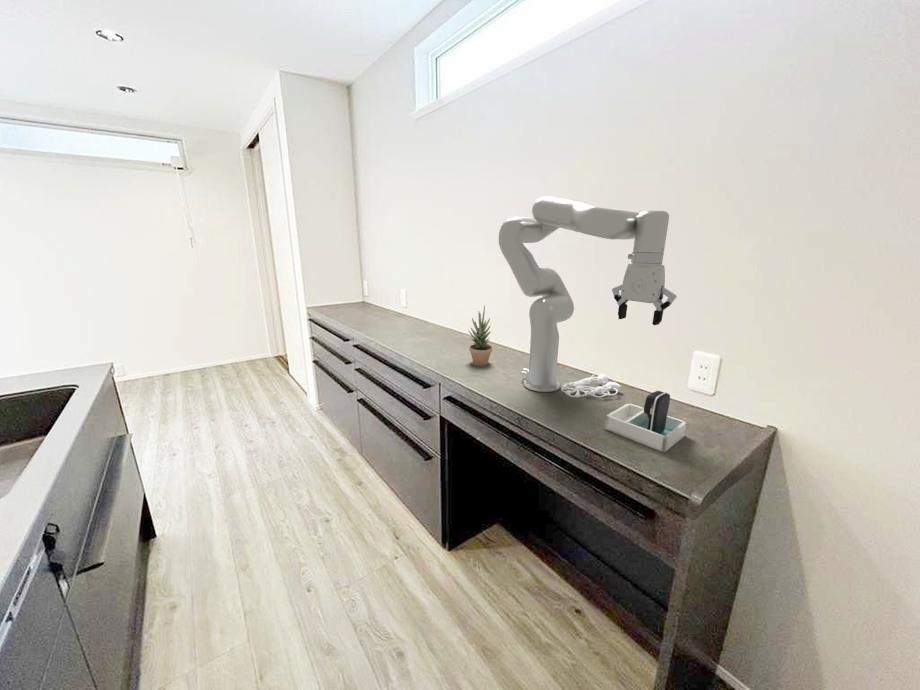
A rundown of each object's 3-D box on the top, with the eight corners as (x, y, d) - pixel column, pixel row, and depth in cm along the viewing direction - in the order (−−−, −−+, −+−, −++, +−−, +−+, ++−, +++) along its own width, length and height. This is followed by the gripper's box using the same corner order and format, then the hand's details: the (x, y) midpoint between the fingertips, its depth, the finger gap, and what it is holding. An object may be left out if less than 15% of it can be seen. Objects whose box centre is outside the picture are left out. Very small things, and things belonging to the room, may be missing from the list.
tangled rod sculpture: (574, 406, 123) (576, 395, 122) (553, 386, 136) (554, 376, 135) (627, 399, 128) (629, 388, 127) (601, 380, 141) (603, 370, 140)
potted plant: (480, 368, 154) (482, 307, 147) (464, 363, 161) (465, 304, 154) (497, 363, 161) (499, 304, 154) (481, 358, 167) (482, 301, 161)
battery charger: (651, 426, 107) (657, 387, 103) (665, 431, 104) (671, 392, 101) (638, 433, 102) (644, 393, 99) (652, 439, 100) (659, 398, 96)
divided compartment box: (604, 428, 106) (605, 415, 105) (626, 415, 115) (628, 402, 114) (664, 452, 95) (666, 438, 94) (684, 435, 103) (687, 422, 102)
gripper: (610, 258, 108) (603, 318, 112) (675, 261, 95) (664, 329, 100) (623, 257, 112) (616, 314, 117) (687, 260, 100) (676, 325, 105)
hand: (638, 321), depth 109 cm, fingers open, 9 cm apart
